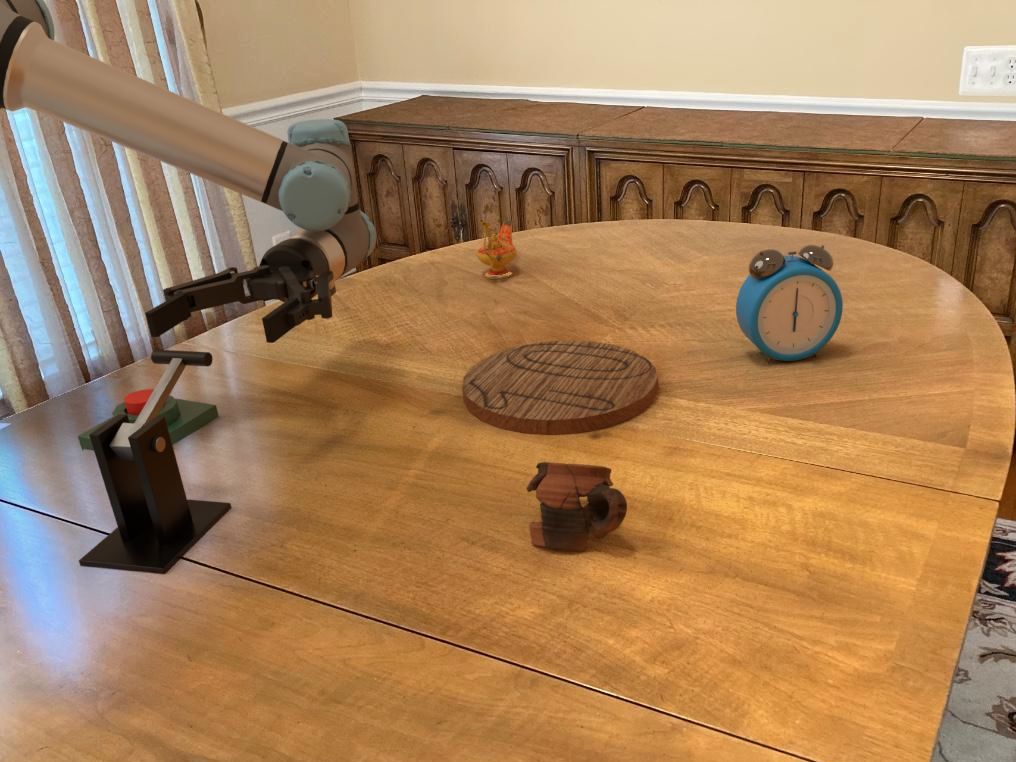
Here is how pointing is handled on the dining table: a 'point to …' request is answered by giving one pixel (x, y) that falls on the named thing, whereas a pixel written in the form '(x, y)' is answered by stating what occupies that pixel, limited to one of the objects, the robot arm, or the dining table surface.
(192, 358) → the lever
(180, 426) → the button block
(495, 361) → the trivet
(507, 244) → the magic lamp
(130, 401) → the button
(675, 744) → the dining table surface
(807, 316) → the alarm clock
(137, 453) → the bracket
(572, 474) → the pottery mug
